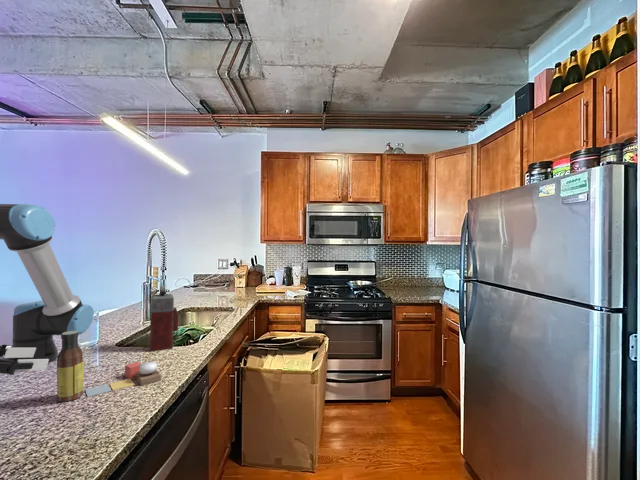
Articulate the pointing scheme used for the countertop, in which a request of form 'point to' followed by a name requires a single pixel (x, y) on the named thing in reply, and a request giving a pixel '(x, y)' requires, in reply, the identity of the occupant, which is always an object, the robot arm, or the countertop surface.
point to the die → (132, 370)
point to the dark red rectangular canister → (162, 321)
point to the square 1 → (97, 390)
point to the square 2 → (121, 384)
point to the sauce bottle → (70, 368)
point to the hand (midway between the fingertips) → (40, 358)
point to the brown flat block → (147, 378)
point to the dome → (148, 367)
